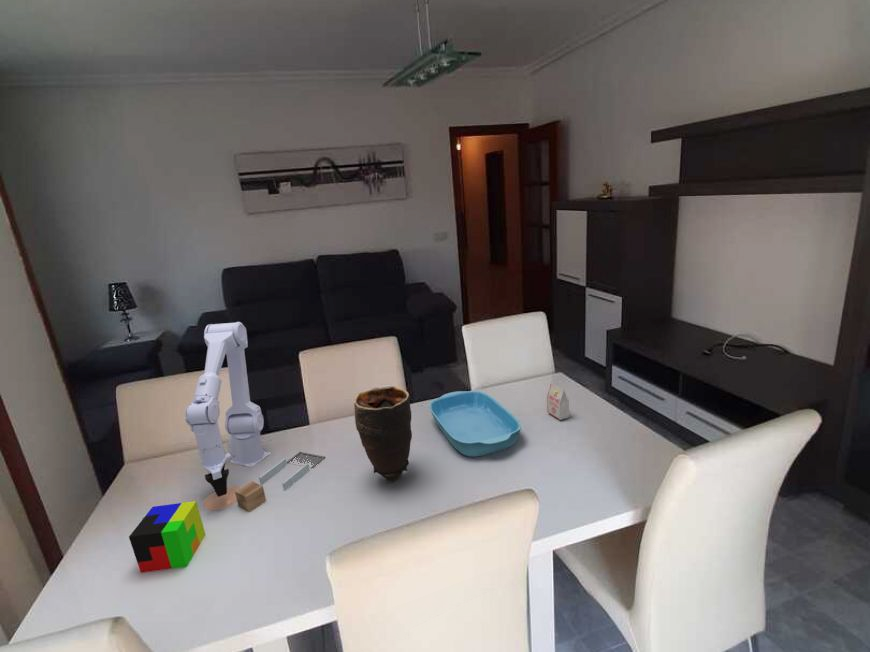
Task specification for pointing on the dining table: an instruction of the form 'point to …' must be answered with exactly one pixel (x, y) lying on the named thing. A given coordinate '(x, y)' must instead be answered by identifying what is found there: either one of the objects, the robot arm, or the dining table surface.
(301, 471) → the grey parallel rails
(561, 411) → the milk carton
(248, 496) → the walnut block
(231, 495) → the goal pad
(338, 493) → the dining table surface
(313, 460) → the tray
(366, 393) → the clay pot
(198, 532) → the puzzle toy
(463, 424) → the casserole dish
